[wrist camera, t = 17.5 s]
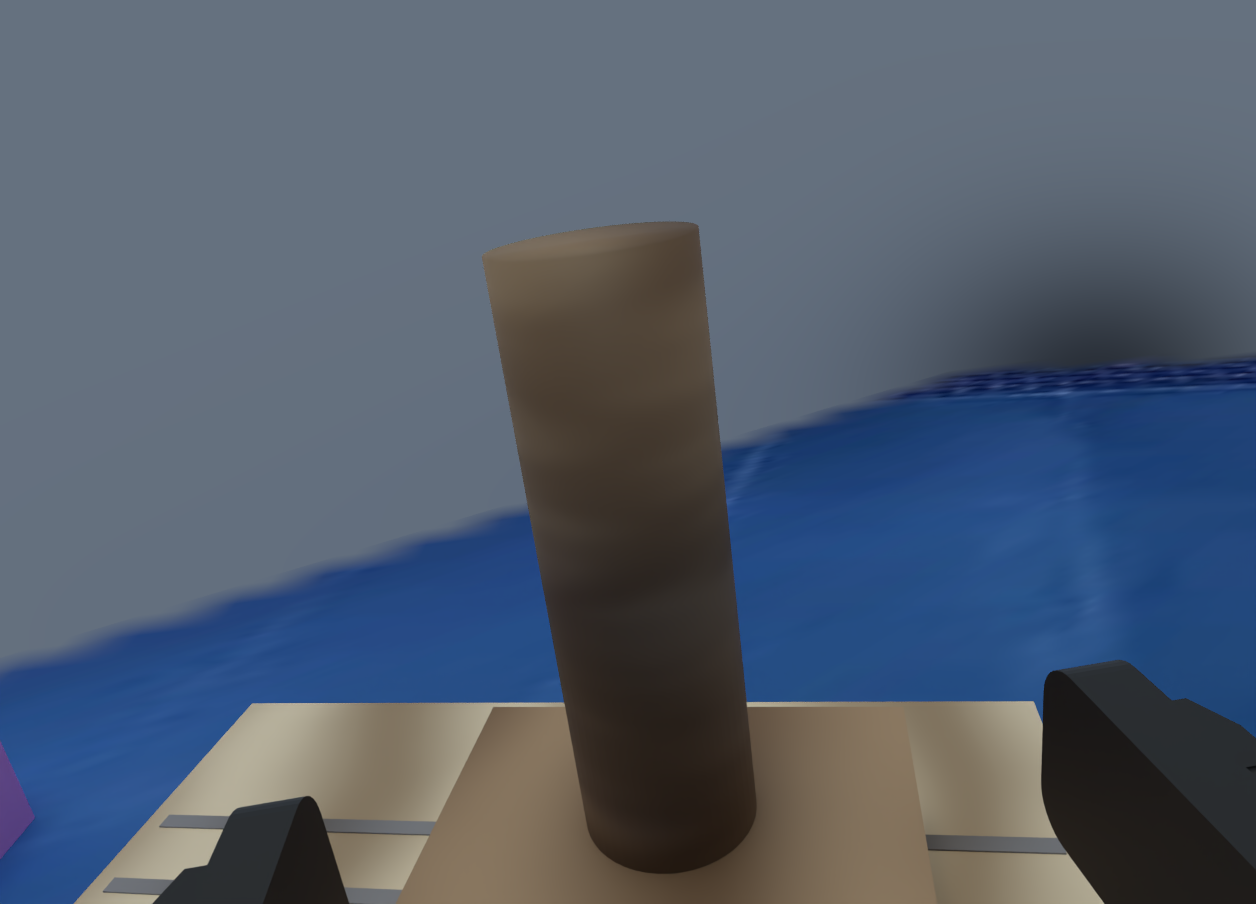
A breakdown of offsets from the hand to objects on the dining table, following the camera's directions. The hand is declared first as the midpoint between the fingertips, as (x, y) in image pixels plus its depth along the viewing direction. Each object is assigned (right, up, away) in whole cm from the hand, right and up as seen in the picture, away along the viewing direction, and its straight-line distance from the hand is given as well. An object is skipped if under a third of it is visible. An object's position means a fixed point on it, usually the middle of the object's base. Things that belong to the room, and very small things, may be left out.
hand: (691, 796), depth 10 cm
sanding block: (0, -5, +8) cm, 10 cm away
